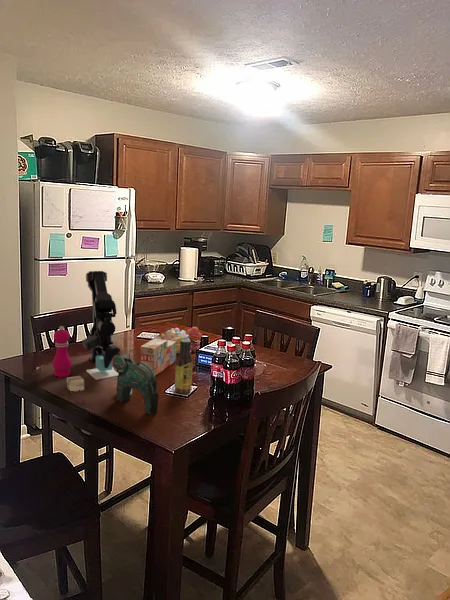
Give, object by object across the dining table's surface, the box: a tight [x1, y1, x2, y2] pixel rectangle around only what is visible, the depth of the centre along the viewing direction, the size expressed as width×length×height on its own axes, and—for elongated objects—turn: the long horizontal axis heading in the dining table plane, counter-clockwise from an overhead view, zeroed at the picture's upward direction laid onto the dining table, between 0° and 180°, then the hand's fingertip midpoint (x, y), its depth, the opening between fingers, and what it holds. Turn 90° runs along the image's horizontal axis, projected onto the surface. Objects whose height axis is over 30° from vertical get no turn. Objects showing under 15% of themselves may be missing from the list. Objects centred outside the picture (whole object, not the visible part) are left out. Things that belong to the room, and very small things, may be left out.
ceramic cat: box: [112, 349, 160, 416], centre depth 174 cm, size 20×6×20 cm, turn 51°
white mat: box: [85, 366, 118, 381], centre depth 205 cm, size 11×11×1 cm
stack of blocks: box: [140, 338, 177, 377], centre depth 214 cm, size 21×6×12 cm, turn 160°
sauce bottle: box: [174, 339, 194, 394], centre depth 189 cm, size 6×6×20 cm
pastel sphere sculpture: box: [153, 326, 202, 354], centre depth 244 cm, size 25×24×9 cm
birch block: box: [66, 375, 85, 392], centre depth 188 cm, size 5×5×4 cm
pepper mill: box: [52, 325, 72, 378], centre depth 199 cm, size 7×7×20 cm
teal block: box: [95, 355, 113, 371], centre depth 204 cm, size 5×5×5 cm
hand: (103, 366), depth 204 cm, fingers closed on teal block, 5 cm apart
